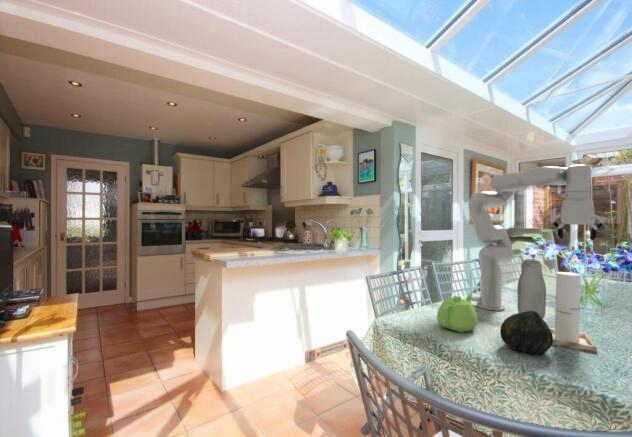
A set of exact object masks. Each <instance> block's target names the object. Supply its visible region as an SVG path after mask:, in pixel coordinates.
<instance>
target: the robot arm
mask: <svg viewBox="0 0 632 437" xmlns="http://www.w3.org/2000/svg"><path fill="white" fill-rule="evenodd" d="M591 174H592V167H591V166H590V165H588V164H574V165H570V166H568V167H562V166H561V167H560V166H552V165H551V166H550V165H549V166H539V167H534V168H532V167H531V168H528V169H525V170H521V171H516V172H515V171H514V172H510V173H509V172H507V173H501V174H497V175H495V176H493V177H492V178H491V179H490V182H489V185H490V187H491V189H492V190H494V191H476V192H475V193H473V194H472V195H471V196H470V198H469V200H468V210H469V214H470V216H471V218H472V221H473V222H472V223H473V226H474V230H475V233H476V237H477V240H478V241H479V243H482V244H486V245H487V246H484V247H481V249H480V250H479V252H478V259H479V266H480V285H479V286H480V287H479V288H480V290H479V291H480V293H479V294H480V295H479V296H477V297H475V296H472V297H471V301H472V302H476V306H477V307H478V308H481V309H484V310H488V311H489V310H490V311H498V312H499V311H504V310H505V308H506V307H505V305H503V304H502V295H503V294H502V292H503V290H502V289H503V287H502V285H503V272H502V269H501V266H500V265H503V264H509V263H512V260H513V259H514V250H513V247H512V242H511V239H510V236H509V233H508V232H507V230H506V228H504V227H503V226H501V225H494V224H493V221H492V217H491V215H490V213H489V212H488V211H487V210H486V208H488V209H489V208H491V209H493V208H494V209H497V208H500V207H502V206H503V205H505V204H506V203H507V202H508V201H509V200H511V198H512V197H513V196H514V195H515V194H516V193H517V191H519V190H520V191H521V190H527V189H528V188H529V187H532V186H541V185H542V186H543V185H544V186H545V185H548V186H549V185H550V186H551V185H552V186H565V192H564V193H561V194H560V197H561V198H564V199H563V200H562V204H561V210H560V213H558V214H556V215H553V216H551V217H549V220H550V222H551V223H552V225H553V226H554V227H555V228H557V237H559V239H561V240H562V239H563V238H564V231H563V230H564V229H563V227H564V226H565V225H573V226H574V225H576V226H577V225H579V226H581V225H583V226H588V227H590V228H591V229H590V231H589V232H590V233H589V235H590V236H589V240H590V241H595V239H596V238H597V231H598V229H599V228H601V227H602V226H604V224H605V222H606V221H607V218H605V217H603V216H600V215H598V214H596V212H595V205H594V201H593V199H591V180H592V178H591ZM559 218H560V219H559ZM556 219H557V220H558V219H559V221H560V223H559V224H558V223H557V222H556ZM596 220H599V222H598V223H596V224H595V222H596ZM488 244H491V245H488Z"/></svg>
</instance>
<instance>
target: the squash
mask: <svg viewBox="0 0 632 437" xmlns="http://www.w3.org/2000/svg"><path fill="white" fill-rule="evenodd" d="M549 328H550V327H549V325H548V323H547V322H546V321H545V320H544V318H543V319H542V317H541V316H540V315H539V314H538V313H537V312H535V311H525V312H521V313H518V312H517V313H514V314H512V315H510V316H508V317H506V318H505V319H504V321H503V322H502V323H501V326H500V330H499V332H500V339H502V342H503V343H504V344H505V345H506V346H509V348H511V349H513V350H517V351H518V350H520V351H521V352H527V353H530V354H531V353H532V354H534V355H538V354H539V355H544V354H545V353H547V352H548V351H549V350H550V348H551V347H552V346H553V345H552V343H553V336H552V332H551V331H550V329H549Z"/></svg>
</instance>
